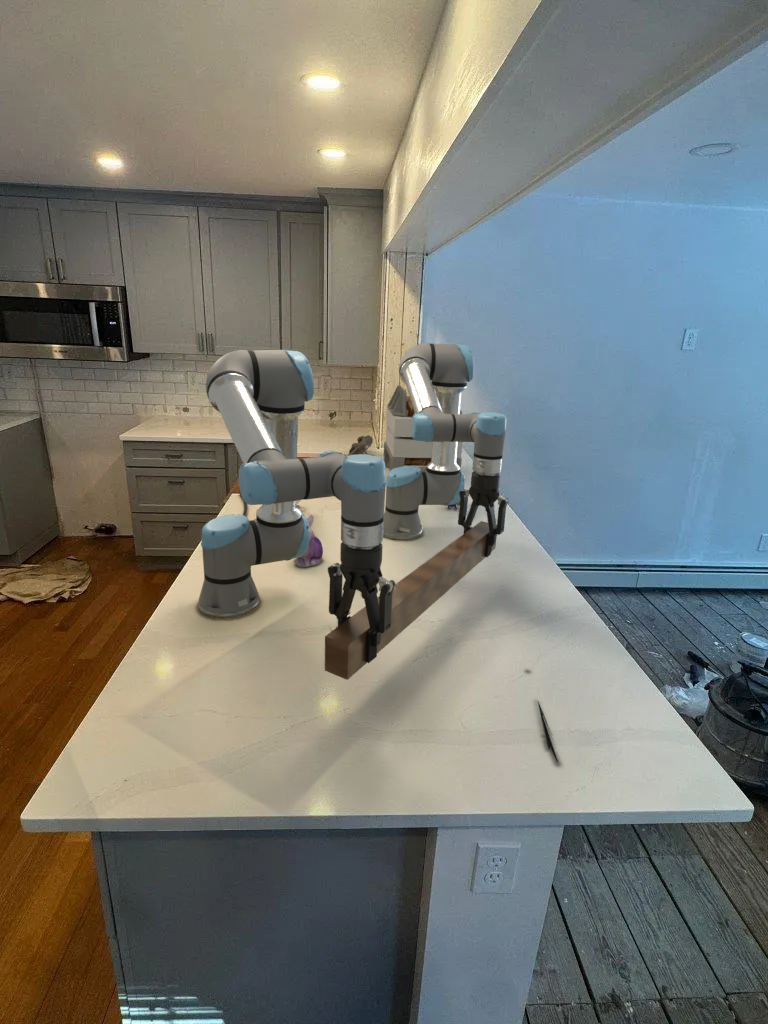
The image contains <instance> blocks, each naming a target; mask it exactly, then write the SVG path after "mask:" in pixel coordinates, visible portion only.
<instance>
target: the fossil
mask: <svg viewBox="0 0 768 1024" xmlns="http://www.w3.org/2000/svg"><path fill="white" fill-rule="evenodd" d="M373 443H374V442H373V437H372V436H371V435H366V436H365V435H361V436H358V437H357V442H353V443H352V444H351V447H350V448H349V450H348V455H347V456H350V455H355V454H367V455H369V454H368V452H367V450H368V449H369V448H371V446H372V444H373Z"/></svg>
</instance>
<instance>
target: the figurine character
mask: <svg viewBox="0 0 768 1024" xmlns="http://www.w3.org/2000/svg"><path fill="white" fill-rule="evenodd" d="M450 507H451V508H453V507H454V510H457V509H458V507H460V501H459V502H458V503H457V504H452V505H447V509H448V510H451V508H450Z"/></svg>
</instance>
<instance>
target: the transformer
mask: <svg viewBox="0 0 768 1024" xmlns="http://www.w3.org/2000/svg"><path fill="white" fill-rule="evenodd" d="M407 394H408V393H407V389H404V388H403V387H402V385H399V384H398V385H397V386H396V388H395V390H394V392H393V394H392V395H391V398H390V400H389V402H388V404H387V405H386V413H385V414H386V415H385V423H386V428H385V438H384V442H383V461H384V462H385V467H388V468H389V471H391V470H392V469H394V468H397V467H402V466H412V467H413V466H415V467H427V465H428V464H429V463H430V462H431V457H432V442H425V441H416V440H414V439H413V437H412V431H411V422H412V417H413V415H415V412H414V409H413V406H412V402H411V399H410V396H409V395H407ZM460 414H463V411H462V408H461V407H460ZM463 443H464V442H458V445H457V458H456V463H457V465H458V466H459V467H460V471H461V472H462V461H463V460H462V453H463Z"/></svg>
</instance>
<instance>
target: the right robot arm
mask: <svg viewBox="0 0 768 1024" xmlns="http://www.w3.org/2000/svg"><path fill="white" fill-rule="evenodd" d="M474 360H475V359H474V355H473V352H472V349H471V348H470V347H469V346H468V345H467V344H466V345H465V344H458V343H429V342H423V343H418V344H416V345H413V346H412V347H410V348H409V349H408V350H407V351H405V353H404V354H403V355H402V357H401V359H400V361H399V365H398V373H399V377H400V381H401V382H402V383H403V384H404V385H406V386H405V387H406V390H407V392H408V396H410V399H411V402H412V406H413V409H414V412H415V415H413V417H412V422H411V431H412V437H413V439H414V440H416V441H425V442H432V457H431V462H430V463H429V464H428V465H427V466H425V467H426V468H425V471H422V469H421V467H420V466H407V465H404V466H402V467H397V468H394V469H392V470H391V471H390V470H388V473H387V475H386V486H385V503H384V517H383V520H384V524H383V538H384V537H385V538H387V539H389V540H395V541H410V540H415V539H418V538H420V537H421V536H422V535H423V525H422V524H421V518H420V515H419V507H420V506H448V505H452V504H457V503H458V502H459V501H460V506H459V509H458V517H457V524H458V525H459V526H461V527H463V534H464V533H466V532H467V531H468V530H470V529H471V528H473V527H474V526H472V525H473V522H474V519H475V516H476V513H477V511H478V508H479V507H483V508H484V509H485V513H486V518H487V523H488V525H489V531H490V533H489V534H487V538H486V548H485V558H488V557H490V556H491V555H492V552H491V549H492V546H493V545H495V542H496V543H497V538H496V535H497V536H499V535H502V534H503V533H504V531H505V525H506V524H505V522H506V514H507V513H506V512H507V506H508V504H509V501H510V499H509V497H503V496H501V493H500V491H499V490H500V484H501V483H500V482H501V474H500V473H501V472H502V465H503V455H504V447H505V439H506V433H507V417H506V415H505V414H503V413H499V412H491V411H483V412H478V411H477V412H476V411H471V412H468V413H462V414H460V408H461V404H462V393H463V392H464V390H466V388H467V387H468V383H469V382H471V381H473V379H474V375H475V361H474ZM458 442H463V443H474V447H473V456H472V468H471V470H472V471H471V475H470V477H471V478H470V487H469V488H468V489H466V488H465V485H466V482H465V479H466V478H465V474H464V472H462V470H461V471H460V467H459V466H458V465H457V463H456V458H457V445H458ZM469 497H471V499H472V502H471V504H470V508H469V510H468V503H469ZM496 501H498V502H497V504H498V508H497V509H498V510H497V518H496V512H495V511H496V510H495V508H496V507H495V502H496ZM467 512H468V513H467ZM496 519H497V520H496Z"/></svg>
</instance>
